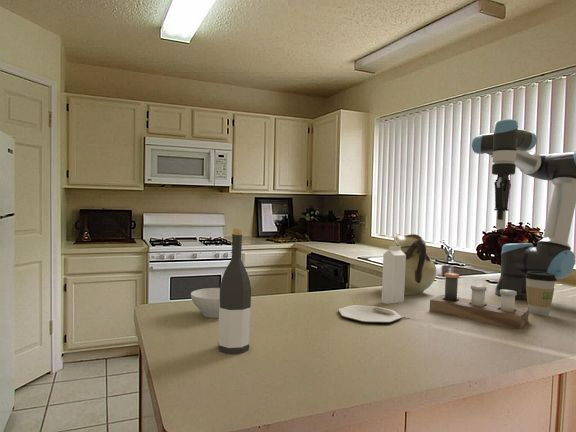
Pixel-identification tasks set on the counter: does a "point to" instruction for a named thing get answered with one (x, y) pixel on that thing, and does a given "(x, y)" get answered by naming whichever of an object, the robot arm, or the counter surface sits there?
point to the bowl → (207, 301)
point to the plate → (368, 314)
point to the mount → (480, 312)
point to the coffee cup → (539, 291)
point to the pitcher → (416, 264)
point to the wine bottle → (234, 303)
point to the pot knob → (451, 286)
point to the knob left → (507, 300)
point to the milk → (393, 275)
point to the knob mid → (478, 295)
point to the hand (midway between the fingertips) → (500, 228)
